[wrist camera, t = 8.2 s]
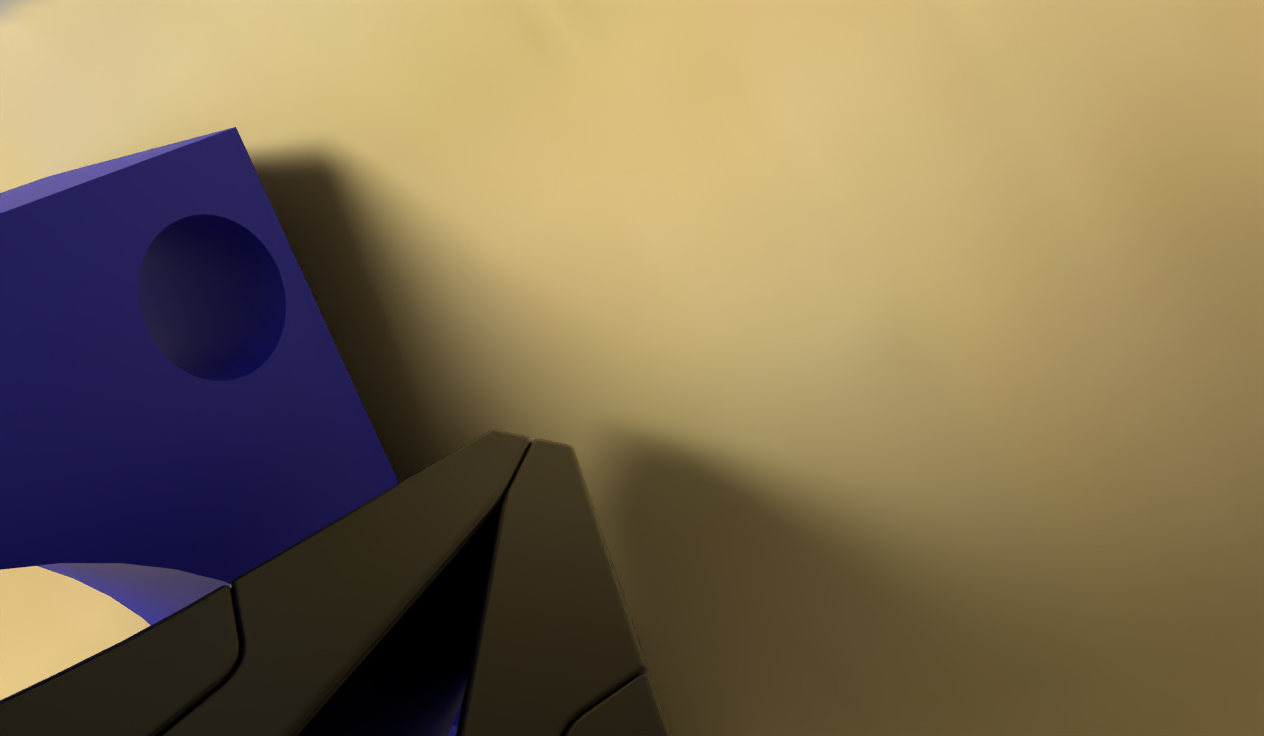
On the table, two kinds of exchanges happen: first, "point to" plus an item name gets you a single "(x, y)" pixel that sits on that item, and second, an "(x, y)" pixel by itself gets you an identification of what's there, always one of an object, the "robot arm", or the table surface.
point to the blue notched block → (167, 380)
